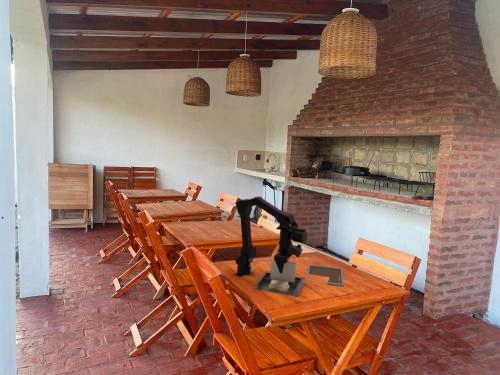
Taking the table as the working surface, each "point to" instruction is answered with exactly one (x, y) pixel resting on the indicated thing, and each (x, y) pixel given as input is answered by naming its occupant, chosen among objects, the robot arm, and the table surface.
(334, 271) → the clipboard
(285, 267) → the tall sheet
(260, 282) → the tray
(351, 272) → the table surface
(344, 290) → the table surface
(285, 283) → the offcut top
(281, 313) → the table surface
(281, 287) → the offcut bottom
